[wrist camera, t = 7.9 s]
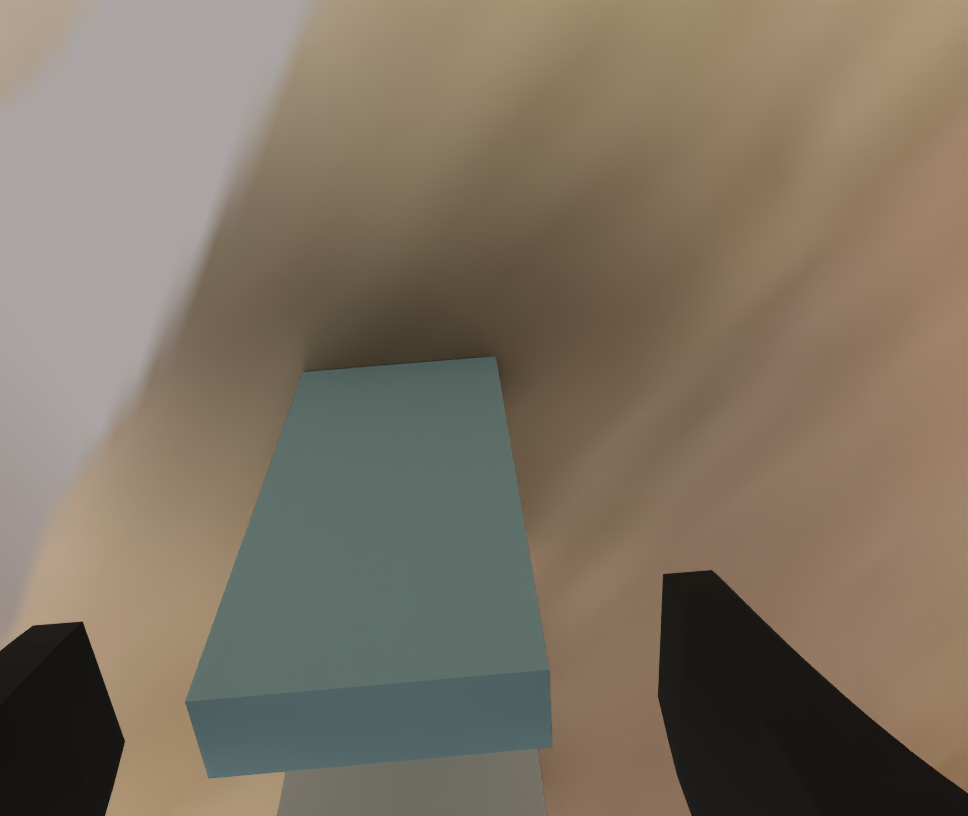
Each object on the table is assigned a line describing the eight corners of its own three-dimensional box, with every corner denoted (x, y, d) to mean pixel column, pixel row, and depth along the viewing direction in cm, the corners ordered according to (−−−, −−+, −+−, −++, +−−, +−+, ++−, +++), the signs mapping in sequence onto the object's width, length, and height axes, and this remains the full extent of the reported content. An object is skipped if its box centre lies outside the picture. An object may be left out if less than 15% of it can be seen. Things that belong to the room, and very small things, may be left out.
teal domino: (498, 407, 18) (552, 747, 10) (312, 423, 18) (208, 778, 10) (495, 356, 17) (549, 669, 9) (303, 371, 17) (185, 702, 9)
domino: (508, 561, 20) (560, 956, 11) (338, 574, 19) (271, 982, 11) (505, 518, 19) (558, 902, 11) (331, 532, 19) (255, 929, 11)
